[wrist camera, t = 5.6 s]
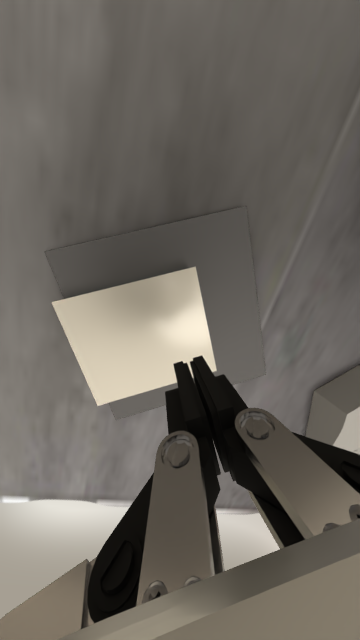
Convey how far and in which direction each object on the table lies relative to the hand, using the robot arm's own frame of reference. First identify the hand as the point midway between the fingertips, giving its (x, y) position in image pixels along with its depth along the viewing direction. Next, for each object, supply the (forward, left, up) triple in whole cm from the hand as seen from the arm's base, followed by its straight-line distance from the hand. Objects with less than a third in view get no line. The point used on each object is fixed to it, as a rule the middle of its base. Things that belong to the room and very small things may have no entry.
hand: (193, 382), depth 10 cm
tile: (-4, 0, -11) cm, 11 cm away
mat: (0, 0, -13) cm, 13 cm away
